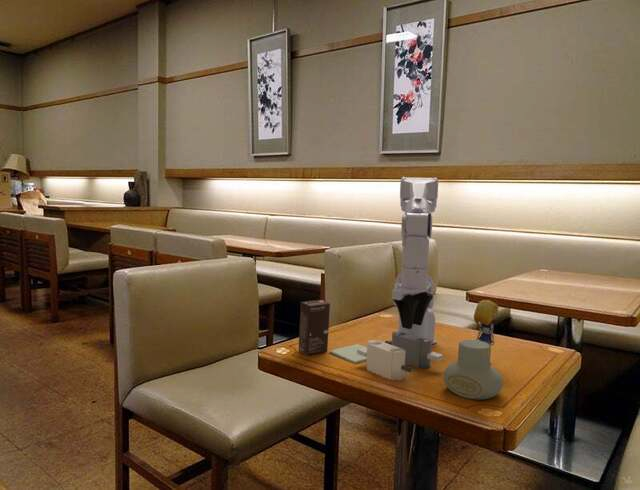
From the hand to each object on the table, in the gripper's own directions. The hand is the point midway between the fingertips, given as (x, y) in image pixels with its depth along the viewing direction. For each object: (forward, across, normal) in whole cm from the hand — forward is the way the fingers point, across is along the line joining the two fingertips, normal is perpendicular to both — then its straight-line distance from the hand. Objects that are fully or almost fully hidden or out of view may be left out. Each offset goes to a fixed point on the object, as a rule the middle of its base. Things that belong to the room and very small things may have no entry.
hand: (411, 326), depth 109 cm
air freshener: (+9, +7, +18) cm, 21 cm away
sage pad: (+8, +5, -12) cm, 15 cm away
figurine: (+9, -10, +12) cm, 18 cm away
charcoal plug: (+8, 0, 0) cm, 8 cm away
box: (+9, +10, -20) cm, 24 cm away
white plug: (+8, +10, 0) cm, 13 cm away
